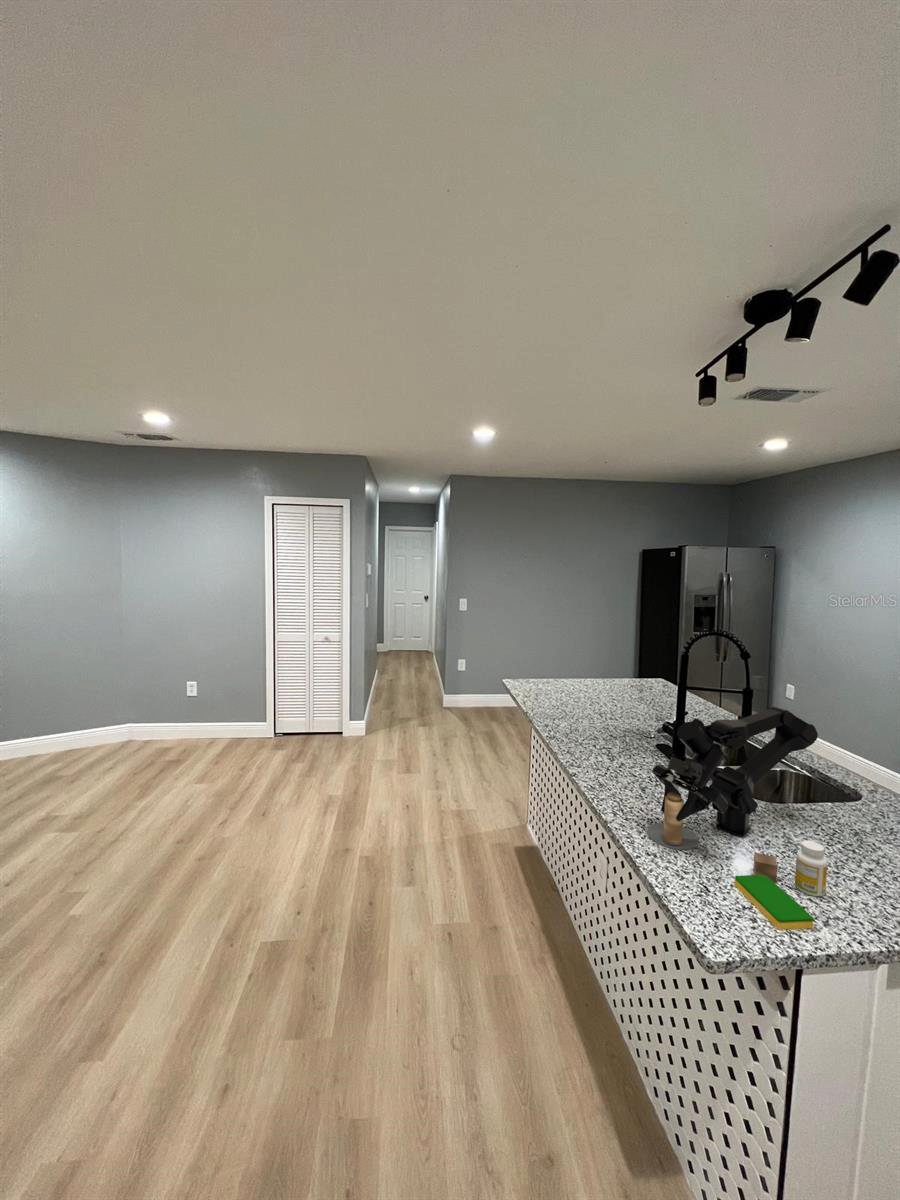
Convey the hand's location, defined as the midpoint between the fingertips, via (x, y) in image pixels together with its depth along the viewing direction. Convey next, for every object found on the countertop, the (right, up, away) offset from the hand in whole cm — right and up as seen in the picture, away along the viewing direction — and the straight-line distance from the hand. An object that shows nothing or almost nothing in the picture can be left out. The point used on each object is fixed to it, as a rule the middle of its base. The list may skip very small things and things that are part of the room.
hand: (669, 815), depth 127 cm
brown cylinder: (+1, -7, +1) cm, 7 cm away
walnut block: (+16, -9, -11) cm, 22 cm away
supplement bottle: (+23, -9, -16) cm, 29 cm away
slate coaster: (+3, -7, +5) cm, 9 cm away
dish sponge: (+12, -10, -21) cm, 26 cm away
